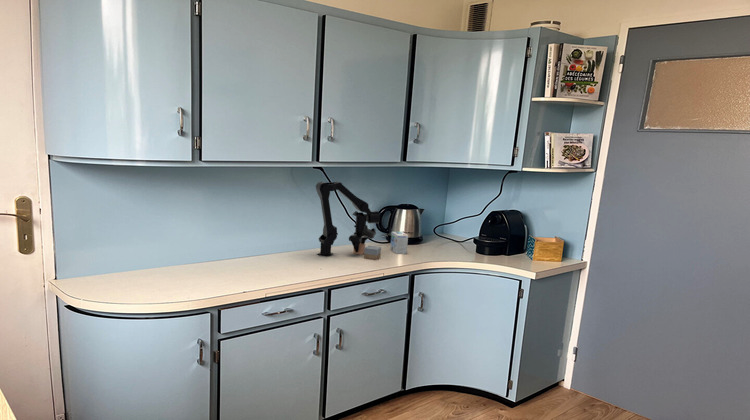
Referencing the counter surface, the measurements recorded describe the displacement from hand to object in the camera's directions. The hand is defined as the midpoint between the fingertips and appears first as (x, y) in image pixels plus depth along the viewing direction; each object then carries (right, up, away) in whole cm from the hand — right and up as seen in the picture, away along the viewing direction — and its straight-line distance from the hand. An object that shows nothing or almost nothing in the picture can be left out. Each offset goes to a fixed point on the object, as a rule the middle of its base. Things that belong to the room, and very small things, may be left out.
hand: (359, 251), depth 277 cm
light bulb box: (+22, -1, +9) cm, 24 cm away
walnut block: (+7, -3, -9) cm, 12 cm away
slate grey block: (+7, 0, -9) cm, 12 cm away
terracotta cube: (0, -1, 0) cm, 1 cm away
